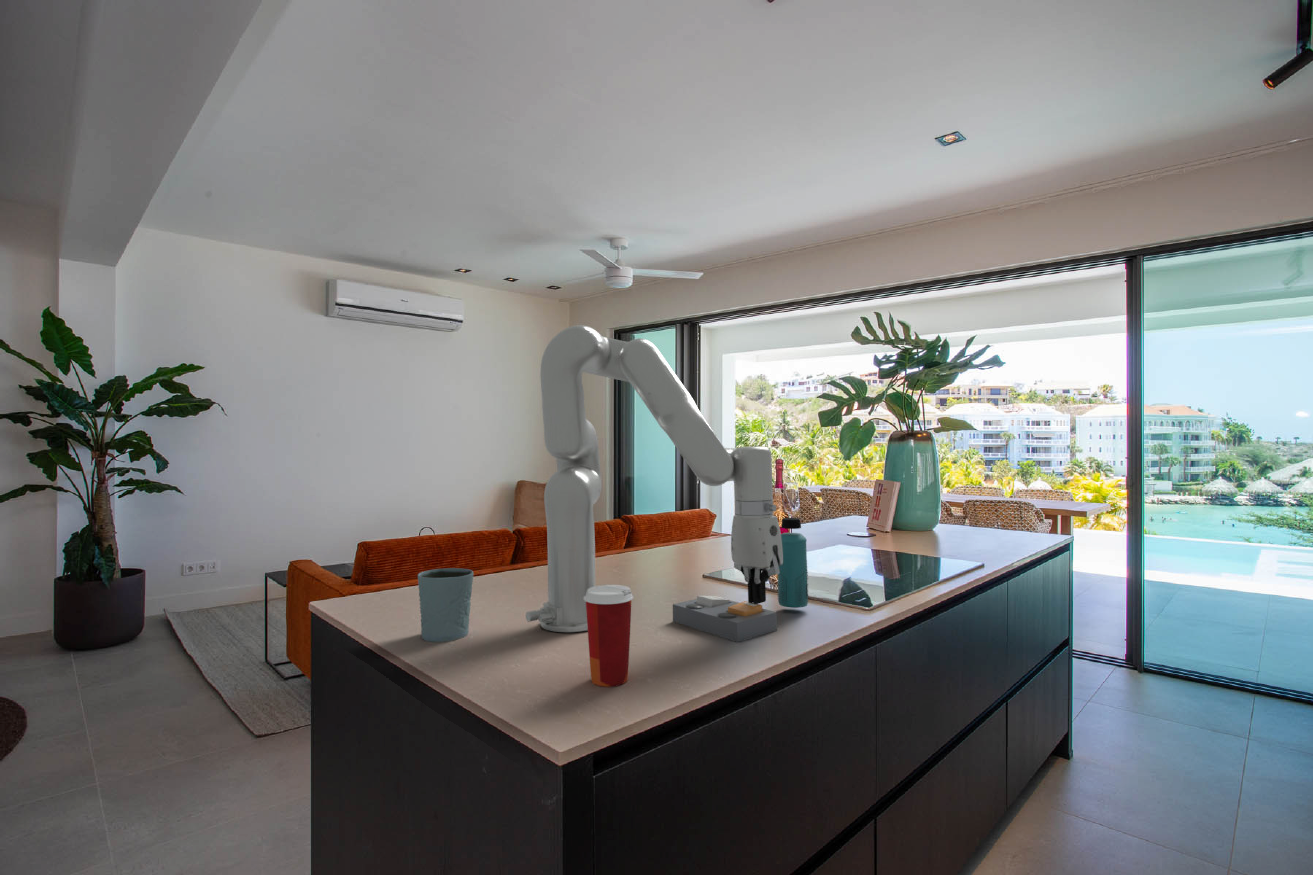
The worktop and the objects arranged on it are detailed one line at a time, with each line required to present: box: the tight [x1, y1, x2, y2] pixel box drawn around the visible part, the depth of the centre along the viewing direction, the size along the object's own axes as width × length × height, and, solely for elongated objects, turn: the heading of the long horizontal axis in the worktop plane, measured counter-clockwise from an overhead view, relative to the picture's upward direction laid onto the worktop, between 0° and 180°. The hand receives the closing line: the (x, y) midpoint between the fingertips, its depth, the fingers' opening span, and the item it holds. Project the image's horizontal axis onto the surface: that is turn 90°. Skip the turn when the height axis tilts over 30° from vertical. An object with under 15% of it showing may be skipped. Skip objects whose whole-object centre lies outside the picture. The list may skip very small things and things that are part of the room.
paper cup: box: [584, 584, 634, 688], centre depth 100 cm, size 8×8×14 cm
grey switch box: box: [672, 598, 778, 643], centre depth 128 cm, size 11×18×4 cm, turn 39°
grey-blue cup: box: [417, 567, 475, 643], centre depth 124 cm, size 10×10×12 cm
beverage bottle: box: [776, 517, 809, 609], centre depth 139 cm, size 6×7×20 cm
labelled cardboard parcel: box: [728, 600, 763, 617], centre depth 126 cm, size 5×4×2 cm
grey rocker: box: [696, 595, 730, 608], centre depth 133 cm, size 5×4×2 cm
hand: (757, 601), depth 127 cm, fingers closed
